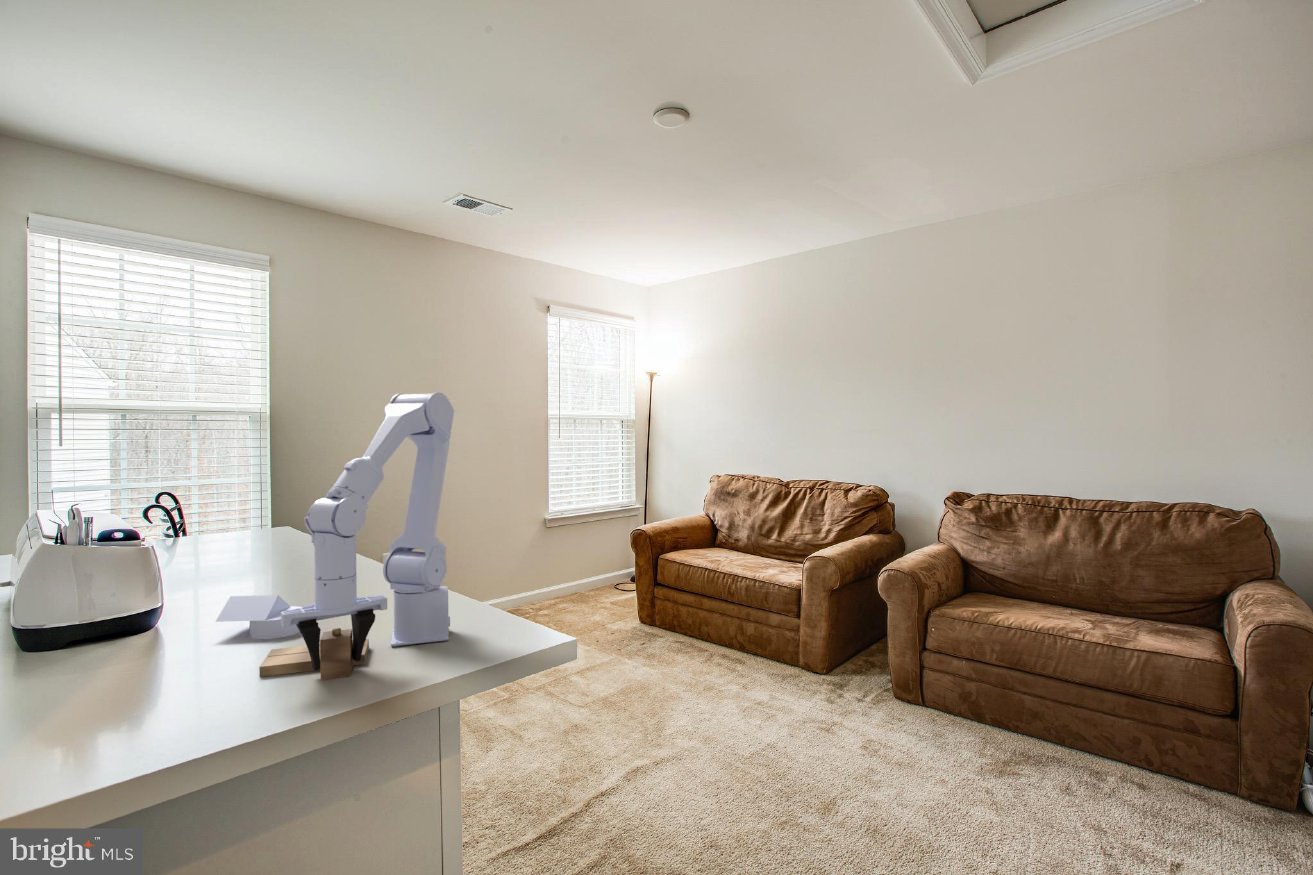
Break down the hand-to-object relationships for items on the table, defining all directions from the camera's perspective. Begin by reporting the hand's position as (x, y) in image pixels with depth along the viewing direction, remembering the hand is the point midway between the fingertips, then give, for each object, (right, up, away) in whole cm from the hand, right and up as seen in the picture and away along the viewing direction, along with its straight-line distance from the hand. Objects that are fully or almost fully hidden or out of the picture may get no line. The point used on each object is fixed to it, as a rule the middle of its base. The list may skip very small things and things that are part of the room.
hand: (336, 663), depth 96 cm
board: (-6, -1, +5) cm, 8 cm away
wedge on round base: (-23, -2, +20) cm, 31 cm away
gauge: (-1, -1, +2) cm, 3 cm away
